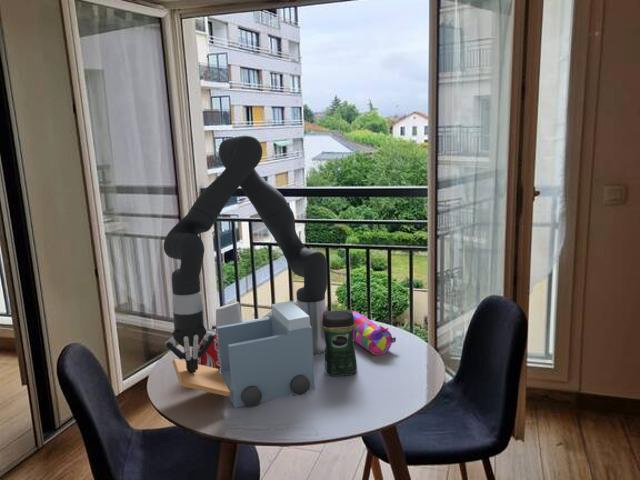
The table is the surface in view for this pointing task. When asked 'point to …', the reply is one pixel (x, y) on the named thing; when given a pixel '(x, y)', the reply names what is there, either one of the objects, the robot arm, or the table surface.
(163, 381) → the table surface
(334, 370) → the coffee jar
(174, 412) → the table surface
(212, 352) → the soda can
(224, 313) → the smart speaker
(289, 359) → the pickup
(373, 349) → the pencil case
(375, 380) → the table surface
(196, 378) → the panel
